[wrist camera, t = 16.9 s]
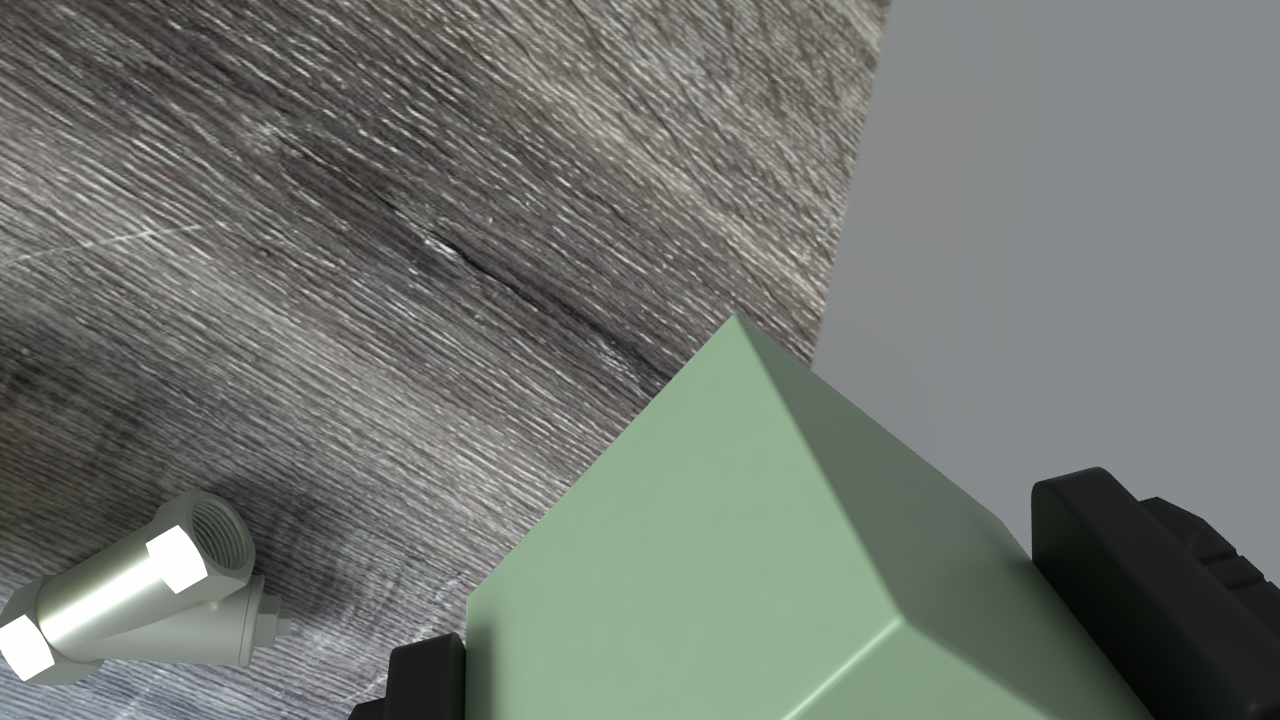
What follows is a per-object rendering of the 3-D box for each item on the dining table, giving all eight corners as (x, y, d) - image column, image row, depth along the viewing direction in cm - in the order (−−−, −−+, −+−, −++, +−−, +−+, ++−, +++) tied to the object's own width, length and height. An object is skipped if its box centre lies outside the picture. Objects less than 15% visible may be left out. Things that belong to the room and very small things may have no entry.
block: (734, 309, 11) (904, 615, 7) (1001, 518, 13) (1268, 861, 9) (463, 597, 12) (454, 1014, 8) (744, 747, 14) (861, 1147, 10)
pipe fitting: (319, 581, 38) (198, 469, 35) (309, 656, 35) (175, 542, 32) (155, 673, 39) (20, 575, 36) (130, 756, 36) (-21, 655, 33)
